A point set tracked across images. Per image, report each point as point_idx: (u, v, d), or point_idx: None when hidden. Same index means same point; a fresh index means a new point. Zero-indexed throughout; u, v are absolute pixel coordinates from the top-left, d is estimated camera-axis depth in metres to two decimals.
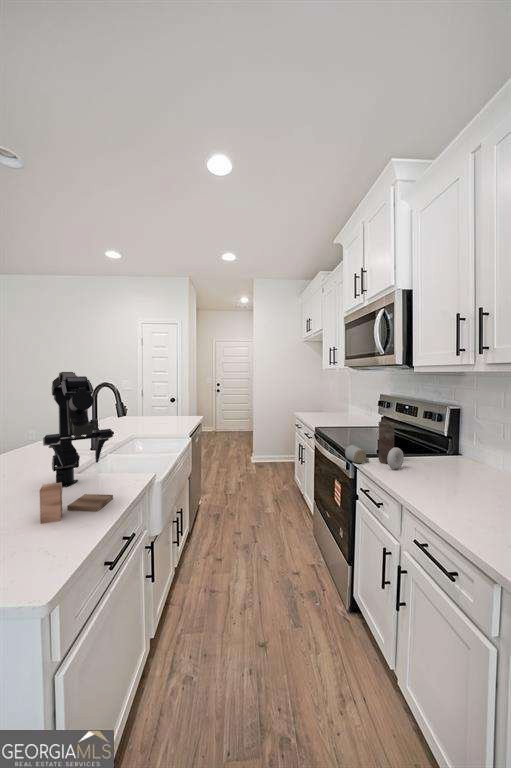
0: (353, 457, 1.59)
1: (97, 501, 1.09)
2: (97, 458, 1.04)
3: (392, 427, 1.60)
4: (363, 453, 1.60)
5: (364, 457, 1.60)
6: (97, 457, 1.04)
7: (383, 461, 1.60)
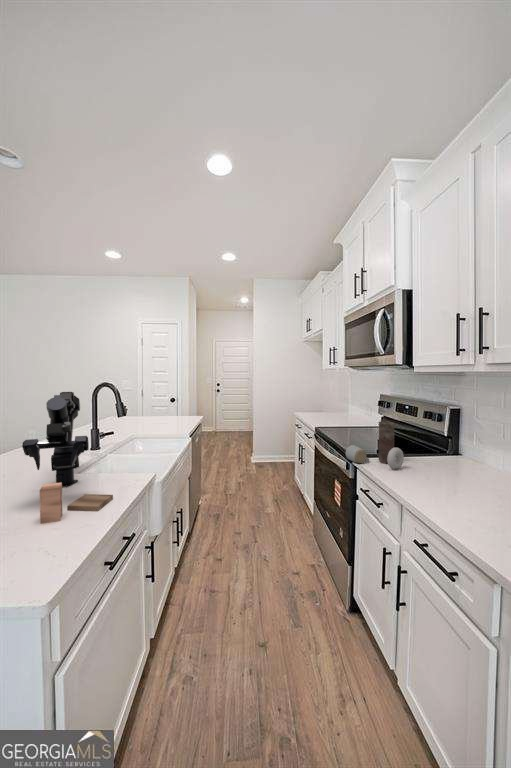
0: (353, 457, 1.59)
1: (97, 501, 1.09)
2: (71, 461, 1.08)
3: (392, 427, 1.60)
4: (363, 453, 1.60)
5: (364, 457, 1.60)
6: (71, 460, 1.08)
7: (383, 461, 1.60)
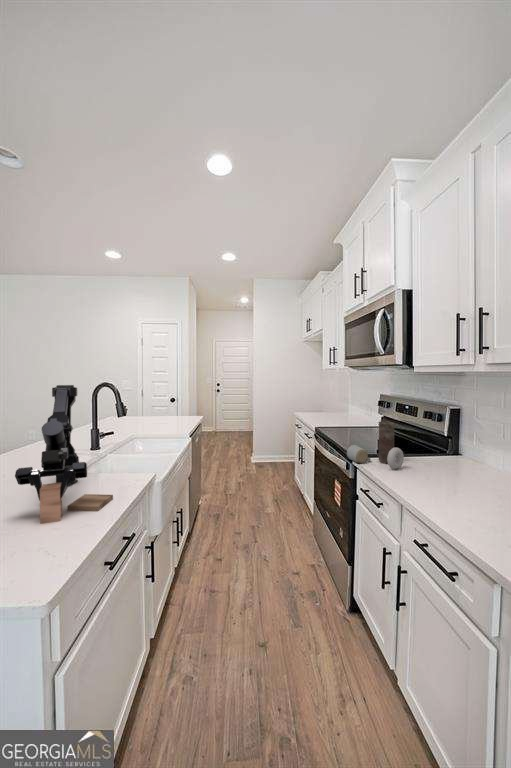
0: (355, 457, 1.60)
1: (97, 501, 1.09)
2: (61, 492, 0.99)
3: (392, 427, 1.60)
4: (365, 453, 1.60)
5: (366, 457, 1.60)
6: (61, 491, 0.99)
7: (383, 461, 1.60)
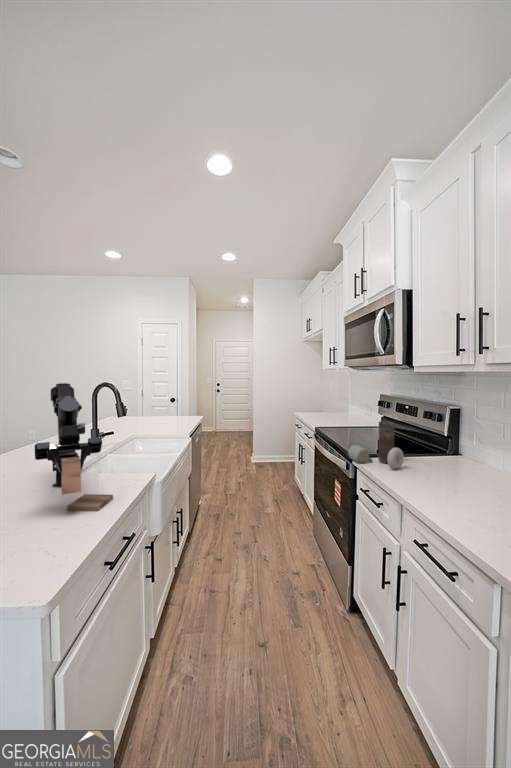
0: (356, 457, 1.60)
1: (97, 501, 1.09)
2: (81, 464, 1.04)
3: (392, 427, 1.60)
4: (366, 453, 1.60)
5: (367, 457, 1.61)
6: (81, 464, 1.04)
7: (383, 461, 1.60)
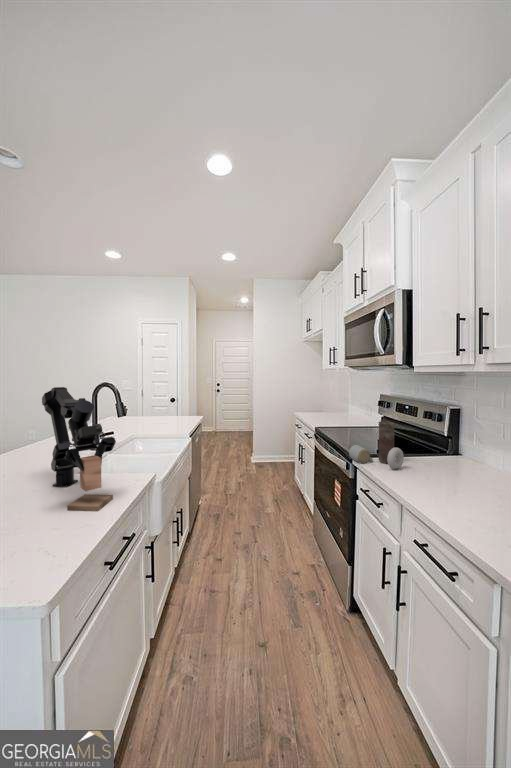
0: (357, 457, 1.60)
1: (97, 501, 1.09)
2: None
3: (392, 427, 1.60)
4: (367, 453, 1.60)
5: (368, 457, 1.61)
6: None
7: (383, 461, 1.60)
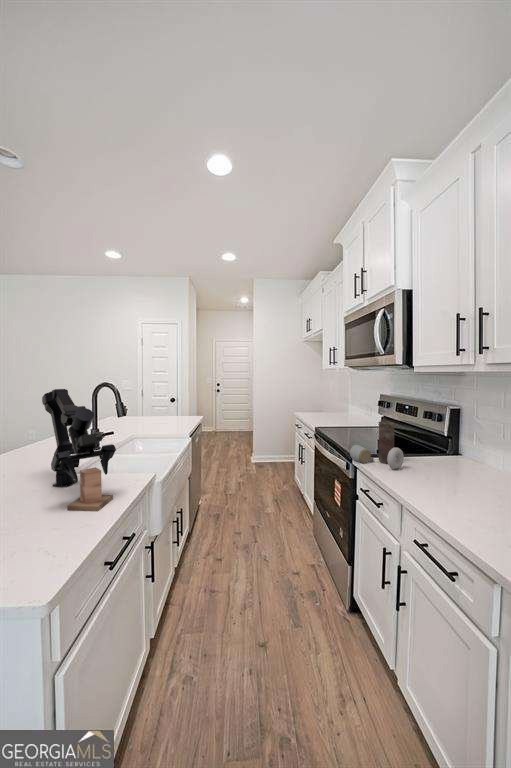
0: (358, 457, 1.60)
1: (97, 501, 1.09)
2: (106, 469, 1.12)
3: (392, 427, 1.60)
4: (368, 453, 1.60)
5: (369, 457, 1.61)
6: (106, 468, 1.12)
7: (383, 461, 1.60)
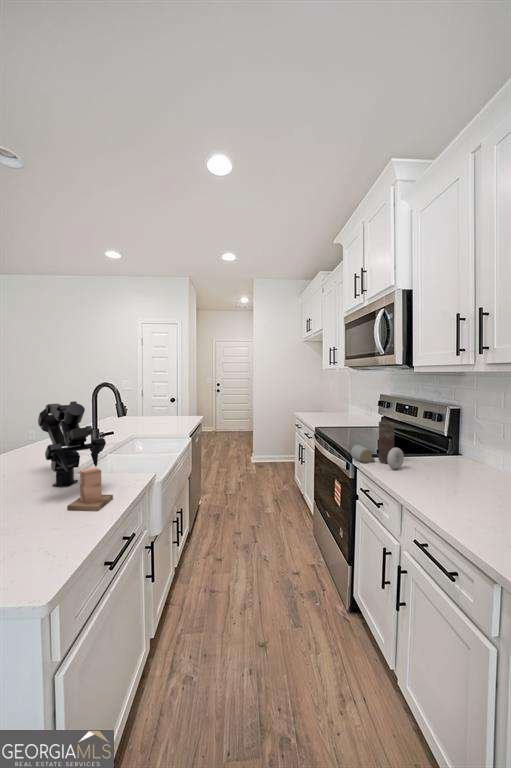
0: (359, 457, 1.60)
1: (97, 501, 1.09)
2: (96, 461, 1.18)
3: (392, 427, 1.60)
4: (369, 453, 1.61)
5: (370, 457, 1.61)
6: (95, 460, 1.18)
7: (383, 461, 1.60)
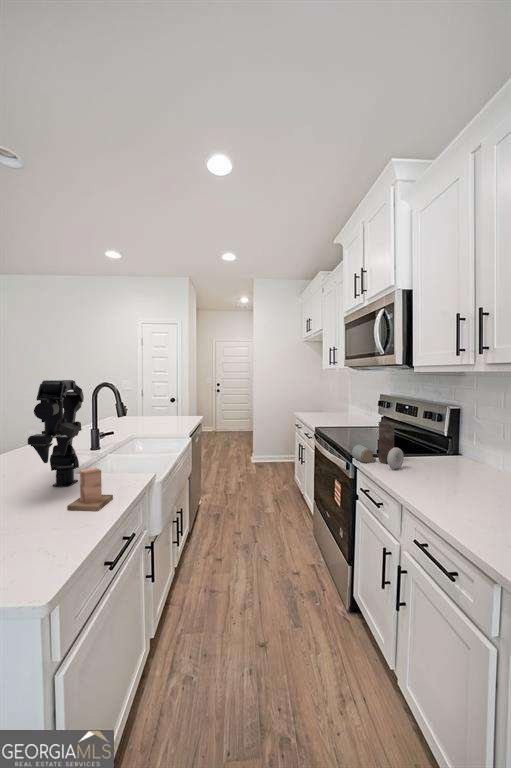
0: (360, 456, 1.60)
1: (97, 501, 1.09)
2: (64, 452, 1.22)
3: (392, 427, 1.60)
4: (370, 452, 1.61)
5: (371, 456, 1.61)
6: (64, 452, 1.22)
7: (383, 461, 1.60)
